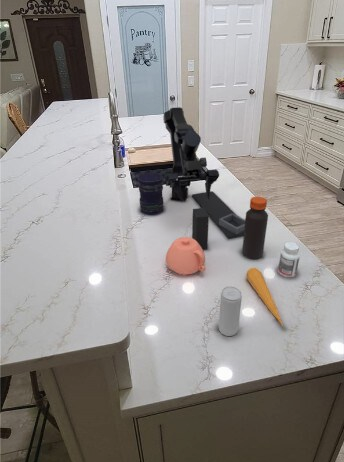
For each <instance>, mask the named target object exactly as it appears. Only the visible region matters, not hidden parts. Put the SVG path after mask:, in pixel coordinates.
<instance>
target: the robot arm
mask: <svg viewBox="0 0 344 462" xmlns="http://www.w3.org/2000/svg"><path fill="white" fill-rule="evenodd" d="M162 117H163V124H164V125H165V130H167V132H168V133H169V137H170V144H171V154H172V163H173V166H172V169H171V170H170V172H168V173H167V174H166V175H165V178H164V179H165V182H164V183H165V186H166V187H169V188H171V197H170V200H171V201H179V202H181V203H183V202H185V201H187V199H188V197H189V187H190V186H191V181H197V180H204V181H205V182H204V188H205V192H206V196H207V199H209V196H210V191H211V189H212V185H214V183H215V182H217V181H218V179H219V177H220V172H219V170H218V169H216V168H215V169H207V170H205V171H206V172H205V173H201V172H202V170H203V168H207V166H208V161H207V158H206V157H200V158H199V160H198V157H197V151H198V149H199V147H200V144H201V141H202V137H201V135H200V134H199V133H197V131H196V130H195V129H194V127H193V126H192V125H191V124H189V123H188V122H187V120H186V118H185V112H184V110H183V108H182V107H180V106H179V107H178V106H177V107H171V108H169V110H166V111H165V112H163V116H162Z"/></svg>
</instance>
